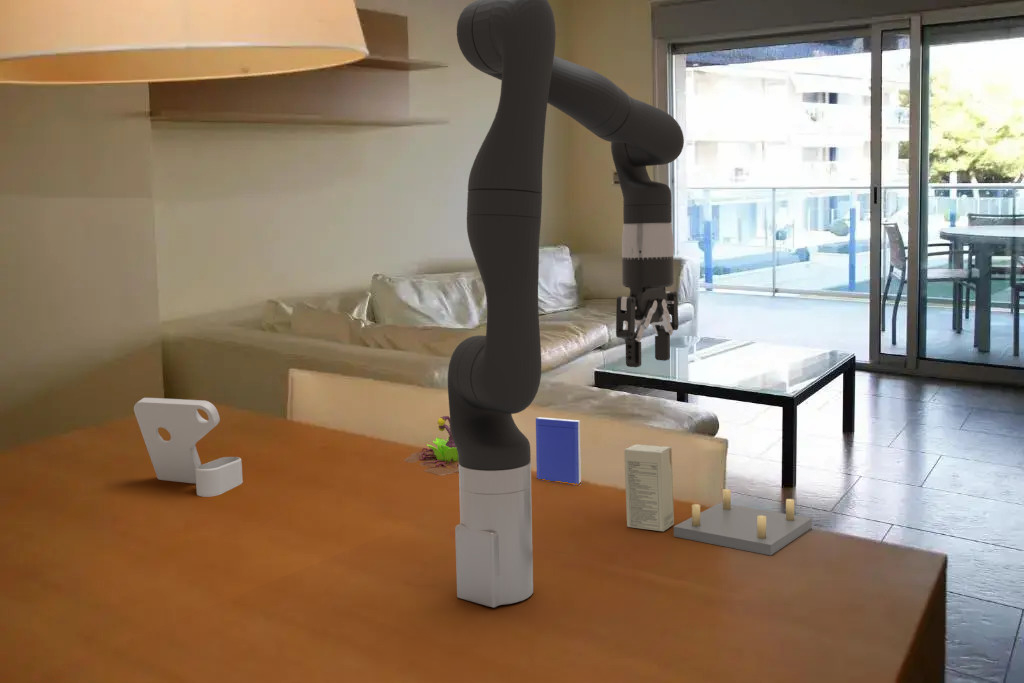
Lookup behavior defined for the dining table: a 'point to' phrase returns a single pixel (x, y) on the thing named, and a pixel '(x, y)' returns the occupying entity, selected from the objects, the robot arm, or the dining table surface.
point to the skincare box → (649, 487)
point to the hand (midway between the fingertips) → (648, 363)
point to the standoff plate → (743, 526)
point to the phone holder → (185, 444)
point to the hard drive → (558, 450)
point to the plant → (439, 453)
